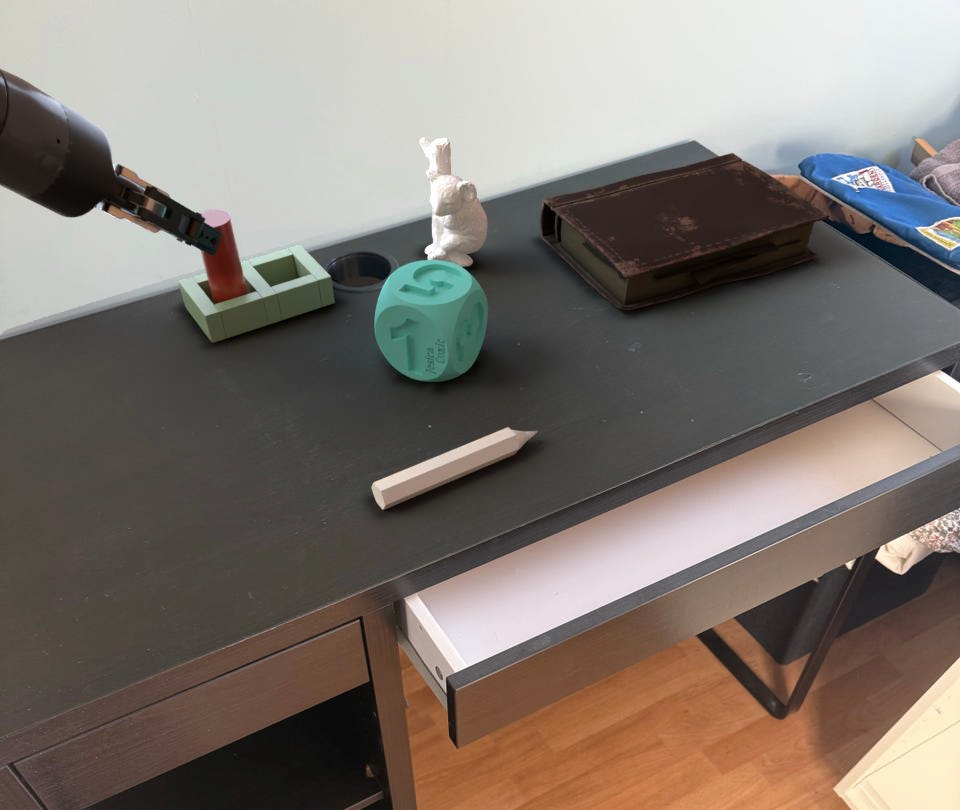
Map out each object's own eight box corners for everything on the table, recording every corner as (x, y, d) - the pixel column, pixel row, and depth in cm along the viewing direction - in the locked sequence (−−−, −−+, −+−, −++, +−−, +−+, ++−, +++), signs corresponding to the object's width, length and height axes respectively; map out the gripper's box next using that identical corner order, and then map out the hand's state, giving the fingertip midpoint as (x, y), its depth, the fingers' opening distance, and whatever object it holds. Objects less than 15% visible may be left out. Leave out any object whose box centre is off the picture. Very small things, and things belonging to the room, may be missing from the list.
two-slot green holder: (212, 343, 89) (204, 316, 87) (185, 307, 93) (177, 280, 91) (335, 303, 94) (331, 276, 91) (304, 270, 98) (300, 244, 95)
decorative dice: (377, 369, 86) (369, 292, 80) (417, 327, 91) (412, 251, 85) (451, 392, 84) (449, 315, 78) (488, 347, 89) (489, 270, 82)
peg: (210, 319, 92) (185, 223, 84) (229, 302, 94) (206, 206, 86) (239, 327, 91) (216, 230, 83) (258, 309, 93) (237, 213, 85)
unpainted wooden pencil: (538, 446, 81) (381, 512, 75) (527, 426, 81) (369, 490, 75) (548, 434, 78) (387, 501, 73) (537, 413, 78) (375, 478, 73)
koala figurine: (405, 252, 100) (397, 138, 90) (457, 236, 102) (454, 122, 93) (444, 287, 95) (440, 171, 86) (498, 269, 98) (499, 154, 88)
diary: (537, 237, 102) (539, 192, 98) (720, 190, 108) (729, 146, 104) (624, 321, 91) (631, 275, 87) (821, 263, 98) (835, 218, 94)
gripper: (108, 118, 65) (254, 212, 80) (-11, 71, 70) (146, 167, 85) (74, 220, 66) (223, 294, 81) (-41, 166, 72) (119, 245, 86)
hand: (184, 229), depth 83 cm, fingers open, 8 cm apart
